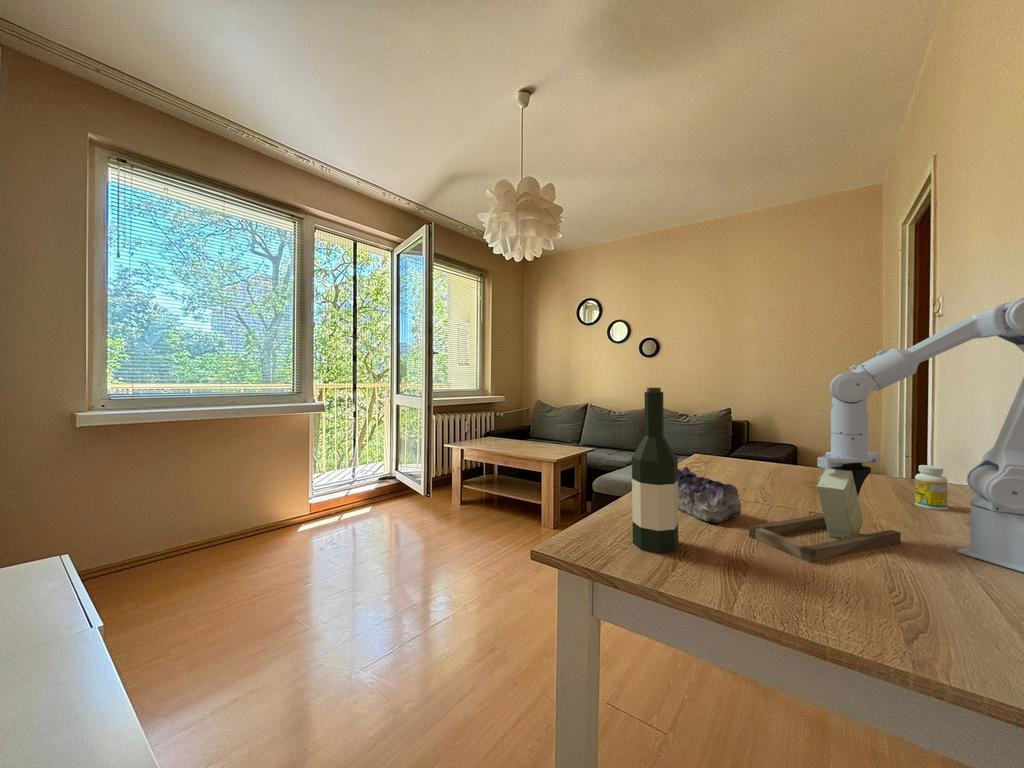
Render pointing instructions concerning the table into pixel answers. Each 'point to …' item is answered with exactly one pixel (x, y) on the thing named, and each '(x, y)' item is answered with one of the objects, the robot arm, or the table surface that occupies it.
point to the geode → (707, 497)
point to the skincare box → (840, 503)
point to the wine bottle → (655, 483)
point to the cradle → (772, 536)
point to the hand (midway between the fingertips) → (849, 501)
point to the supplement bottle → (931, 488)
